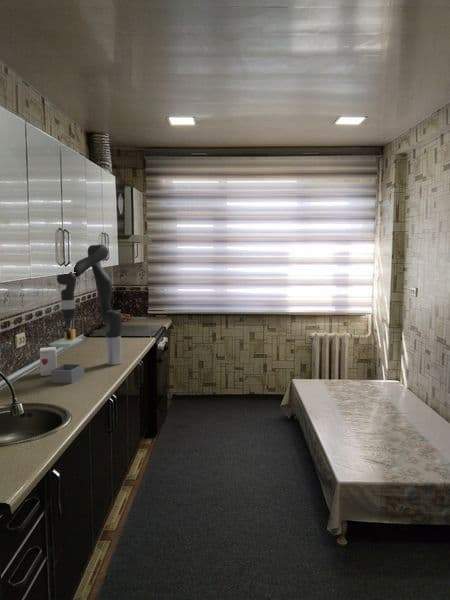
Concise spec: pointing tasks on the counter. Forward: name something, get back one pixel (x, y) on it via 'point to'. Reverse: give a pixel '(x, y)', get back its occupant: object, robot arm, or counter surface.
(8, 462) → the counter surface
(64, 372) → the tub
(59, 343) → the lid
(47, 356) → the supplement box
